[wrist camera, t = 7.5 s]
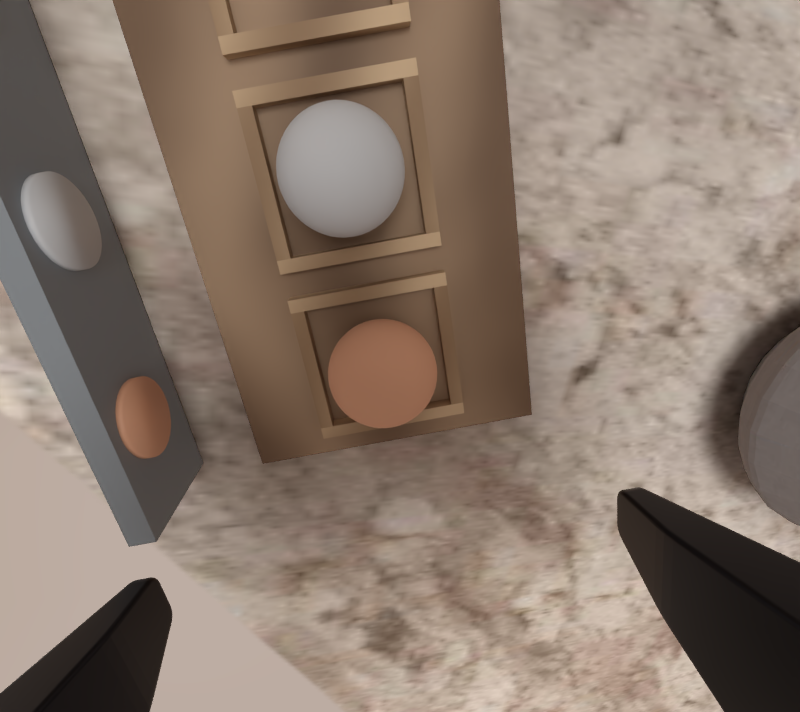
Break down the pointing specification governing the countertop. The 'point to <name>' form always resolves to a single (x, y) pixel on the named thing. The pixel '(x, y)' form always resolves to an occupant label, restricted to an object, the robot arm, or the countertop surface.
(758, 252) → the countertop surface
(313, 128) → the grey ball
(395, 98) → the rack
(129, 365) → the card
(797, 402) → the coffee pot
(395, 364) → the terracotta ball
